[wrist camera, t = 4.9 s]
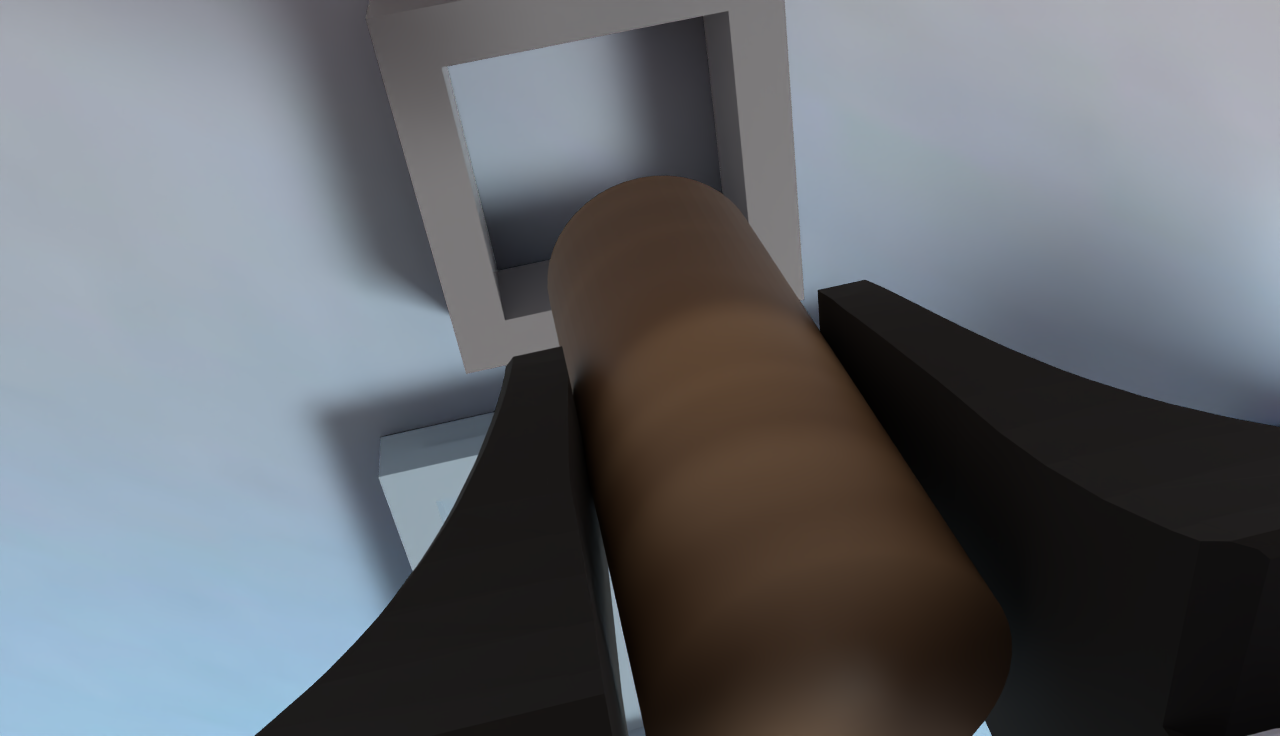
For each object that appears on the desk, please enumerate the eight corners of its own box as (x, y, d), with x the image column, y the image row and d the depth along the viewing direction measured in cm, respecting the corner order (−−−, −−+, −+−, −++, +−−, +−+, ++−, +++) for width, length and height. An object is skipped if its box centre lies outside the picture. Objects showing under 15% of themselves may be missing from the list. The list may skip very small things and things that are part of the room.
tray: (380, 437, 24) (378, 477, 22) (882, 325, 25) (908, 357, 23) (495, 763, 30) (498, 808, 29) (889, 665, 31) (908, 705, 30)
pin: (527, 201, 14) (618, 609, 8) (748, 155, 15) (1022, 513, 8) (569, 388, 16) (671, 854, 9) (766, 344, 16) (1002, 769, 10)
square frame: (371, -10, 19) (365, 19, 17) (745, -82, 19) (780, -62, 17) (462, 320, 22) (466, 374, 21) (773, 254, 23) (804, 299, 21)
